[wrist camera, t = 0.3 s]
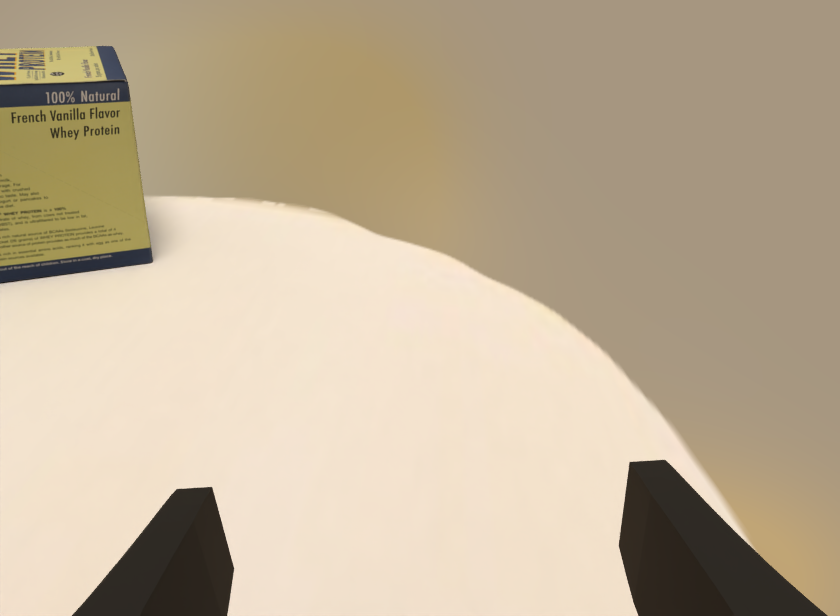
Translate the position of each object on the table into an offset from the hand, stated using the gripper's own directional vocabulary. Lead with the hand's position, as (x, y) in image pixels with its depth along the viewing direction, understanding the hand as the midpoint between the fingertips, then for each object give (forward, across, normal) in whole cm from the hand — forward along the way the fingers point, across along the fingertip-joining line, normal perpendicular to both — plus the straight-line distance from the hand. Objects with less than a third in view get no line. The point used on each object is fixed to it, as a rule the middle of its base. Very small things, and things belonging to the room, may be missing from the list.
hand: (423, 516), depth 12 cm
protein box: (+47, +31, +15) cm, 58 cm away
